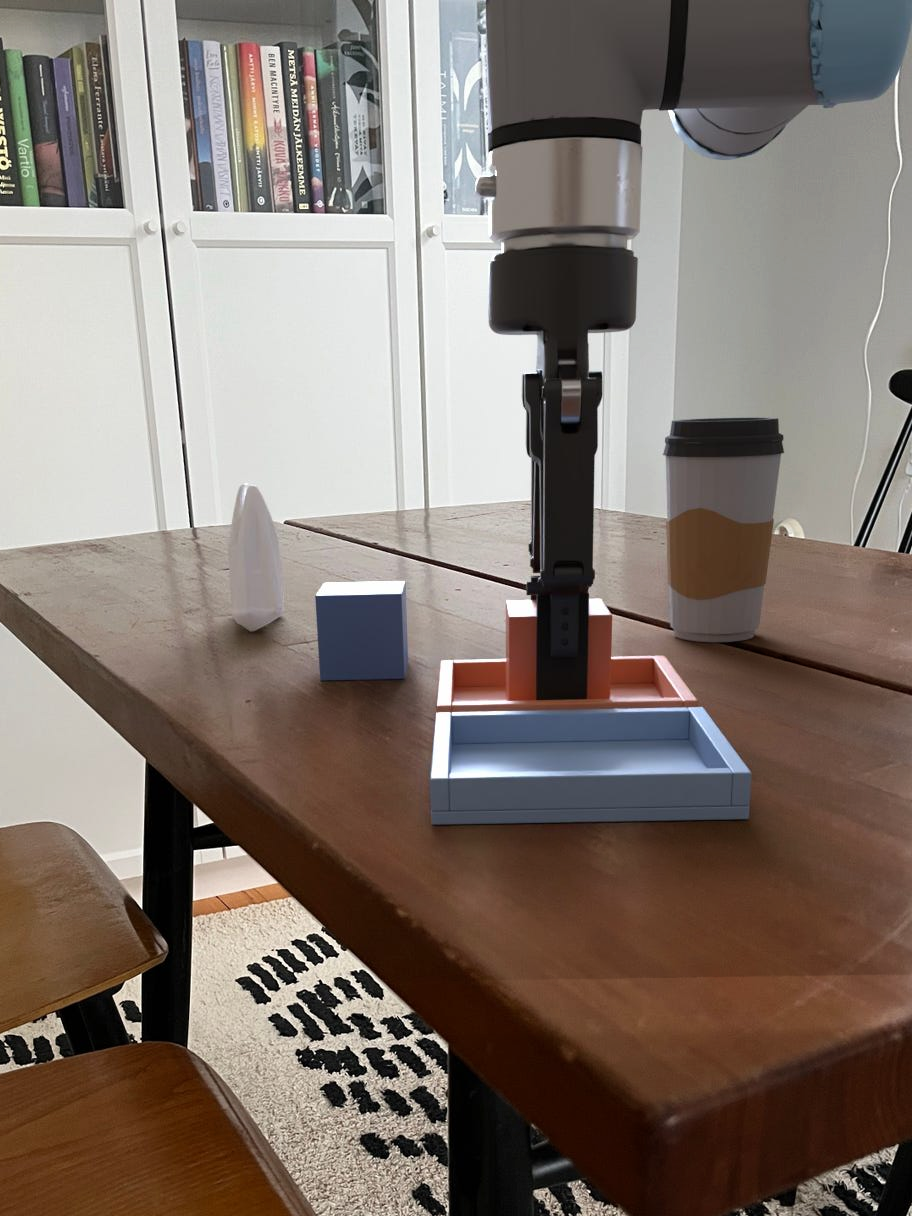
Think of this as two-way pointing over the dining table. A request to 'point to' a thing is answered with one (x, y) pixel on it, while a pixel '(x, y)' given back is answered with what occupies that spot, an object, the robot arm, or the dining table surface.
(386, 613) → the blue block
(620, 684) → the terracotta tray
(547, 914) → the dining table surface
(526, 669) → the terracotta block
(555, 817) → the blue tray
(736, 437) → the coffee cup
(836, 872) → the dining table surface
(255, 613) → the white pointed piece
